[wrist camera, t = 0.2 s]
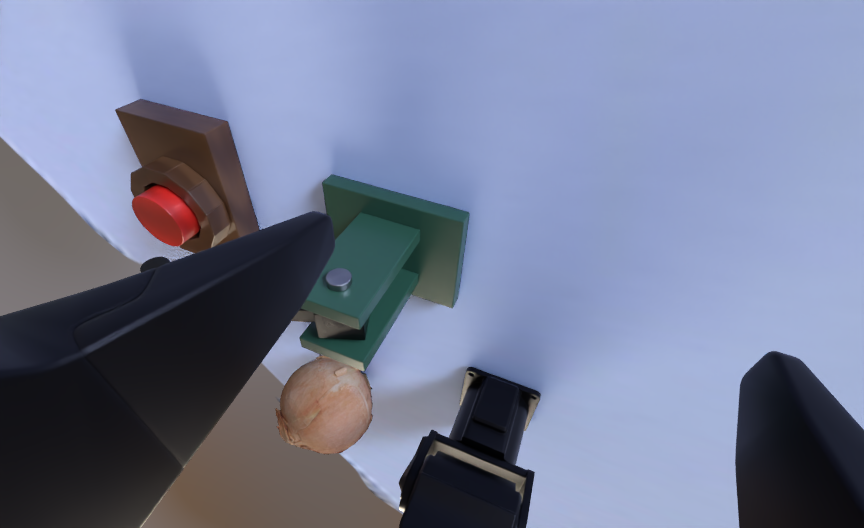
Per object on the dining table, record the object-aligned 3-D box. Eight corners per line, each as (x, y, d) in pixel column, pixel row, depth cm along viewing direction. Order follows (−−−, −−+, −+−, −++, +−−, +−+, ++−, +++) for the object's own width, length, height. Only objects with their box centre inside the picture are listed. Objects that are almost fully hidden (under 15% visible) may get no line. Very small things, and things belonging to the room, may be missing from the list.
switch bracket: (342, 259, 34) (269, 346, 28) (331, 173, 29) (236, 256, 22) (458, 297, 32) (407, 402, 25) (470, 212, 26) (409, 317, 20)
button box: (268, 258, 38) (237, 287, 35) (198, 234, 40) (164, 260, 37) (228, 121, 29) (183, 145, 26) (140, 98, 31) (90, 119, 28)
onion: (339, 350, 50) (263, 406, 46) (339, 327, 42) (246, 393, 38) (388, 414, 48) (313, 479, 44) (399, 404, 40) (308, 483, 36)
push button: (208, 239, 33) (191, 253, 32) (165, 224, 34) (147, 237, 33) (189, 192, 30) (169, 205, 29) (142, 178, 31) (121, 189, 30)
